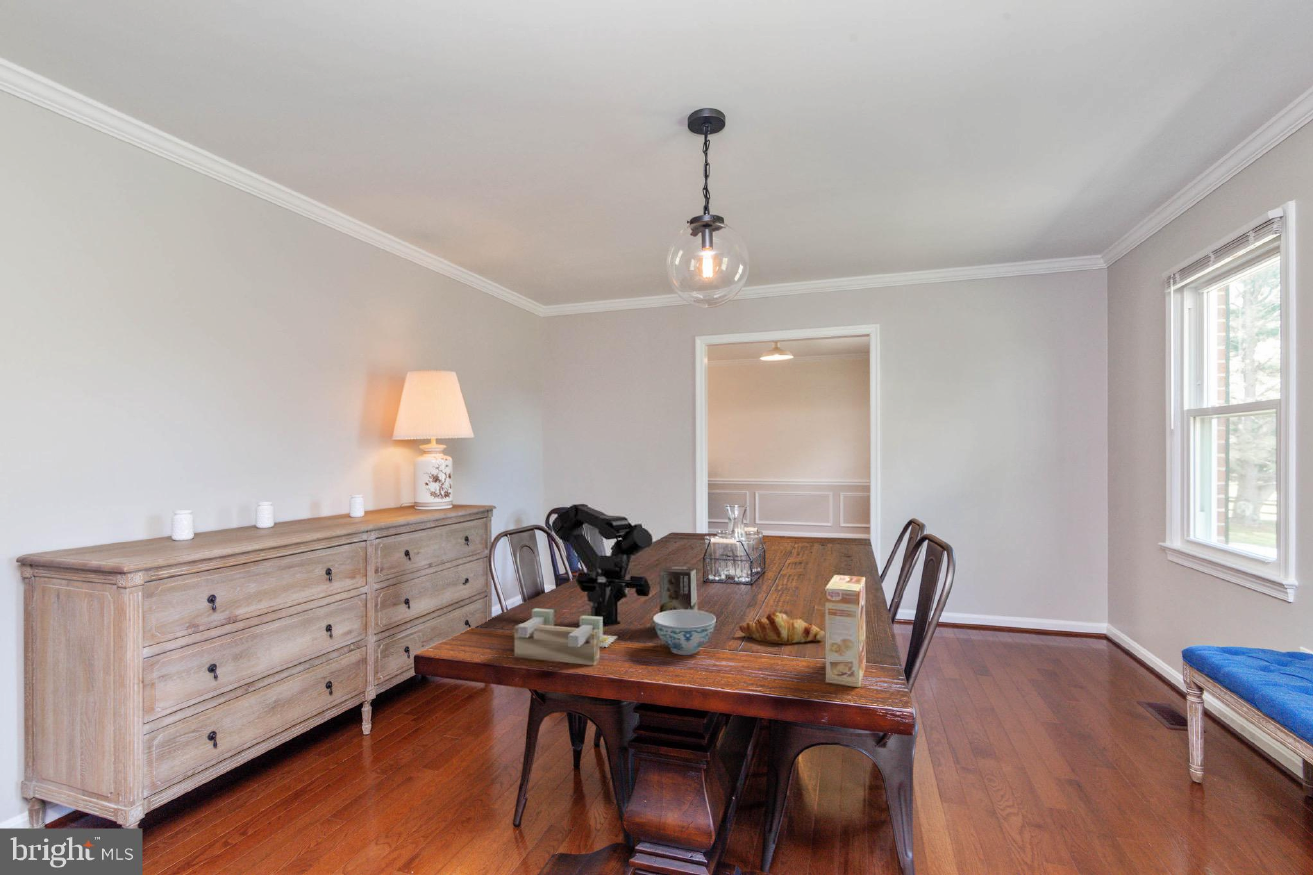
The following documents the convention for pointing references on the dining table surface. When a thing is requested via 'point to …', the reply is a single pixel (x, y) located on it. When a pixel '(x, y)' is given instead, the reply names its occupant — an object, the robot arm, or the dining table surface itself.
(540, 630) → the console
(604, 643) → the card
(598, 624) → the button
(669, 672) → the dining table surface
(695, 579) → the coffee box
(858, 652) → the coffeecake box
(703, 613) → the chinaware
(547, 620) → the button
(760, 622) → the croissant
